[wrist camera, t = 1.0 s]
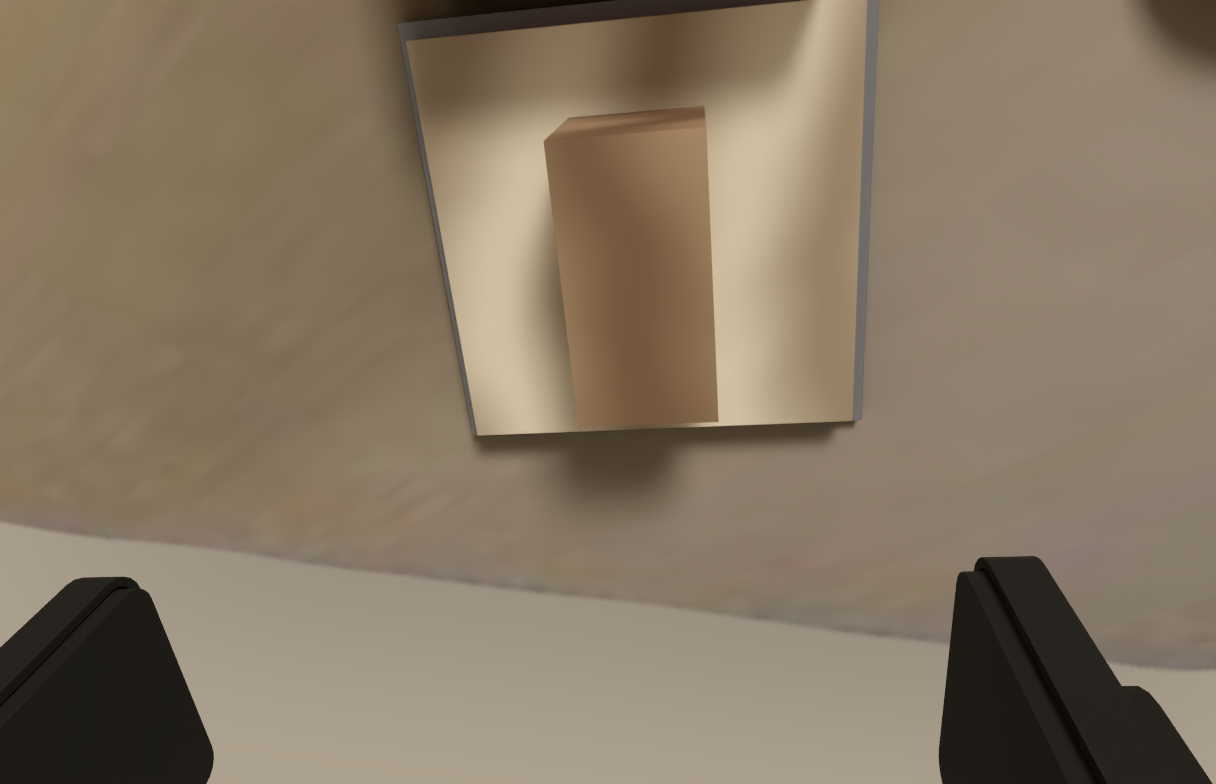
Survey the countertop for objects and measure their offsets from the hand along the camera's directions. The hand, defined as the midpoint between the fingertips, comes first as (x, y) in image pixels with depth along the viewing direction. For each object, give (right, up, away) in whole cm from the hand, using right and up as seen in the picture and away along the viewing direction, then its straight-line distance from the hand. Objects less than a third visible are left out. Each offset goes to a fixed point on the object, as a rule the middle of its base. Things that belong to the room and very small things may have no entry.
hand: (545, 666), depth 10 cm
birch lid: (+2, +8, +17) cm, 19 cm away
